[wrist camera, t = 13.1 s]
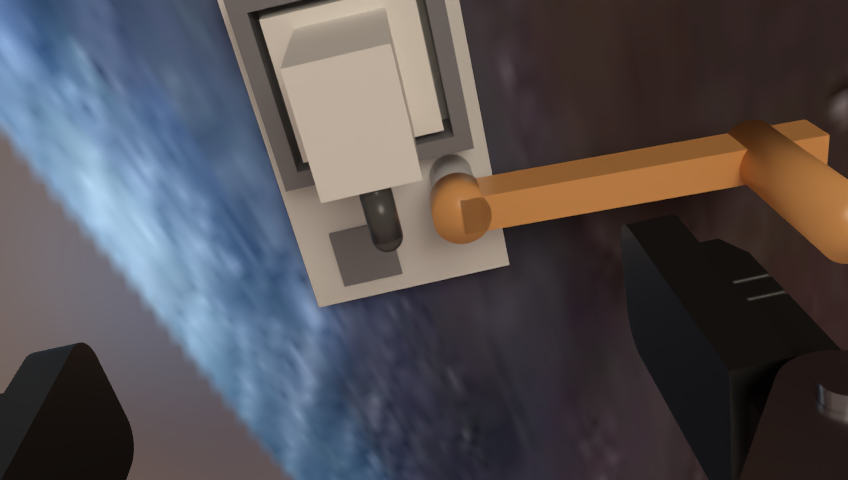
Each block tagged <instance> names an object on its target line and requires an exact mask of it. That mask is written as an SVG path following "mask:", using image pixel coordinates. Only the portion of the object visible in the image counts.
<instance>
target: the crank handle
mask: <svg viewBox="0 0 848 480" xmlns="http://www.w3.org/2000/svg"><path fill="white" fill-rule="evenodd" d="M829 136H830V135H829V134H828V133H826V132H824V131H823V130H821V129H820V128H818V127H816V126H815V125H813V124H812V123H810V122H809V121H807V120H800V121H794V122H789V123H783V124H777V125H772V126H771V125H769V124H768V123H766V122H764V121H761V120H748V121H744V122H742V123H740V124H738V125H736V126H735V127H734V128H732V129H731V130H730V131H729V132H728V133H727V134H721V135H716V136H710V137H704V138H699V139H693V140H688V141H682V142H676V143H671V144H665V145H659V146H654V147H648V148H643V149H637V150H631V151H626V152H620V153H615V154H609V155H603V156H598V157H592V158H586V159H581V160H575V161H570V162H564V163H558V164H553V165H547V166H542V167H536V168H530V169H525V170H519V171H513V172H508V173H502V174H497V175H491V176H485V177H480V178H475V177H473V176H472V175H469V174H466V173H461V172H457V173H451V174H448V175H445V176H443V177H442V178H440V179H439V180H438V181H437V182H436V183H435V184H434V186H433V188H432V190H431V192H430V197H429V201H430V208H431V213H432V218H433V223H434V227H435V229H436V231H437V233H438V234H439V235H440V236H441V237H442V238H443V239H445V240H446V241H448V242H451V243H455V244H467V243H471V242H473V241H476V240H477V239H479V238H480V237H482V236H483V235H484V234H485V233H486V231H489V230H494V229H500V228H505V227H511V226H517V225H522V224H528V223H534V222H539V221H545V220H551V219H556V218H562V217H567V216H573V215H579V214H584V213H590V212H596V211H601V210H607V209H612V208H618V207H624V206H629V205H635V204H641V203H646V202H652V201H658V200H663V199H669V198H674V197H680V196H686V195H691V194H697V193H703V192H708V191H714V190H720V189H725V188H731V187H736V186H742V185H747V186H749V187H750V188H751V189H752V190H753V191H754V192H755V193H756V194H758V195H759V196H760V197H761V198H762V199H763V200H764V201H765V202H766V203H768V204H769V205H770V206H771V207H772V208H773V209H774V210H775V211H776V212H778V213H779V214H780V215H781V216H782V217H783V218H784V219H785V220H786V221H788V222H789V223H790V224H791V225H792V226H793V227H794V228H795V229H796V230H798V231H799V232H800V233H801V234H802V235H803V236H804V237H805V238H806V239H808V240H809V241H810V242H811V243H812V244H813V245H814V246H815V247H816V248H818V249H819V250H820V251H821V252H822V253H823V254H824V255H825V256H827V257H828V258H829V259H830V260H832V261H834V262H837V263H843V264H848V179H846V178H845V177H843V176H842V175H840V174H839V173H838V172H836V171H835V170H833V169H832V168H830V167H829V166H828V165H827V160H828V148H829Z"/></svg>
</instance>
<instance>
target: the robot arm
mask: <svg viewBox="0 0 848 480" xmlns="http://www.w3.org/2000/svg"><path fill="white" fill-rule="evenodd" d="M621 248H622V259H623V269H624V279H625V289H626V300H627V310H628V318H629V323H630V328H631V332H632V336H633V339H634V342H635V345H636V348H637V350H638V352H639V354H640V356H641V358H642V360H643V362H644V364H645V366H646V367H647V369H648V371H649V373H650V375H651V376H652V378H653V380H654V382H655V384H656V385H657V387H658V389H659V391H660V393H661V394H662V396H663V398H664V400H665V402H666V404H667V405H668V407H669V409H670V411H671V413H672V414H673V416H674V418H675V420H676V422H677V423H678V425H679V427H680V429H681V431H682V432H683V434H684V436H685V438H686V440H687V442H688V443H689V445H690V447H691V449H692V451H693V452H694V454H695V456H696V458H697V460H698V461H699V463H700V465H701V467H702V469H703V470H704V472H705V474H706V476H707V478H708V480H848V351H846V350H841V349H840V348H839V347H838V346H837V345H836V344H835V343H834V342H833V341H832V340H831V339H830V337H829V336H828V335H827V334H826V333H825V332H824V331H823V330H822V329H821V328H820V327H819V326H818V325H817V324H816V323H815V322H814V321H813V320H812V319H811V317H810V316H809V315H808V314H807V313H806V312H805V311H804V310H803V309H802V308H801V307H800V306H799V305H798V304H797V303H796V302H795V301H794V300H793V299H792V297H791V296H790V295H789V294H785V293H784V289H783V288H782V287H781V286H780V285H779V284H778V283H777V282H776V281H775V280H774V278H773V277H769V275H768V272H767V271H766V270H765V269H764V268H763V267H762V266H761V265H760V264H759V263H758V262H757V261H756V260H755V258H754V257H753V256H752V255H751V254H750V253H749V252H746V251H744V250H742V249H740V248H738V247H736V246H733V245H731V244H729V243H727V242H725V241H722V240H720V239H714V240H710V241H705V242H700V243H699V242H698V240H697V239H696V238H695V237H694V236H693V234H692V233H691V232H690V231H689V230H688V229H687V227H686V226H685V225H684V224H683V223H682V222H681V220H680V219H679V218H678V217H677V216H676V215H674V214H670V215H666V216H661V217H657V218H652V219H648V220H643V221H638V222H634V223H629V224H625V225H623V226H622V228H621ZM133 453H134V443H133V435H132V430H131V427H130V423H129V421H128V419H127V417H126V415H125V413H124V411H123V409H122V407H121V405H120V403H119V401H118V399H117V397H116V394H115V392H114V390H113V389H112V386H111V385H110V382H109V380H108V378H107V376H106V374H105V372H104V371H103V368H102V366H101V364H100V363H99V360H98V358H97V356H96V354H95V353H94V351H93V350H92V348H90V346H88V345H87V344H85V343H76V344H72V345H67V346H63V347H58V348H53V349H48V350H45V351H39V352H35V353H32V354H30V355H28V356H27V357H26V359H25V360H24V362H23V363H22V365H21V366H20V368H19V370H18V371H17V373H16V374H15V376H14V378H13V379H12V381H11V382H10V384H9V386H8V387H7V389H6V390H5V392H4V393H2V394H0V480H126V479H127V476H128V473H129V470H130V467H131V464H132V461H133Z"/></svg>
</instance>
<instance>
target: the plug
mask: <svg viewBox="0 0 848 480" xmlns="http://www.w3.org/2000/svg"><path fill="white" fill-rule="evenodd" d="M259 21H260V25H261V28H262V31H263V34H264V37H265V41H266V44H267V47H268V50H269V54H270V57H271V60H272V63H273V66H274V70H275V73H276V76H277V79H278V83H279V86H280V89H281V92H282V95H283V99H284V102H285V105H286V108H287V112H288V115H289V118H290V121H291V124H292V128H293V131H294V134H295V137H296V141H297V144H298V147H299V150H300V153H301V157H302V160H303V163H305V162H309V165H310V169H311V172H312V175H313V178H314V182H315V185H316V188H317V191H318V195H319V198H320V201H321V203H325V202H329V201H333V200H338V199H342V198H346V197H351V196H355V195H359V198H360V201H361V205H362V208H363V212H364V216H365V219H366V223H367V226H368V230H369V233H370V237H371V241H372V243H373V245H374V246H375V247H376V248H377V249H378V250H380V251H382V252H392V251H395V250H396V249H398V248H399V247H400V245H401V243H402V241H403V231H402V228H401V224H400V220H399V216H398V212H397V208H396V204H395V200H394V197H393V193H392V189H391V187H394V186H399V185H403V184H408V183H412V182H416V181H421V180H423V178H422V172H421V167H420V161H419V156H418V151H417V145H416V140H415V137H417V136H422V135H426V134H430V133H435V132H439V131H443V130H444V129H443V124H442V119H441V115H440V110H439V105H438V101H437V96H436V91H435V87H434V82H433V77H432V73H431V68H430V64H429V59H428V54H427V50H426V45H425V40H424V36H423V31H422V26H421V22H420V17H419V12H418V8H417V3H416V0H299V1H295V2H291V3H286V4H282V5H278V6H274V7H270V8H265V10H264V12H263V14H262V16H261V18H260V19H259Z"/></svg>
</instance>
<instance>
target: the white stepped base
mask: <svg viewBox="0 0 848 480" xmlns="http://www.w3.org/2000/svg"><path fill="white" fill-rule="evenodd" d="M217 1H218V4H219V7H220V10H221V13H222V16H223V19H224V22H225V25H226V28H227V31H228V34H229V37H230V40H231V43H232V46H233V49H234V52H235V55H236V58H237V61H238V64H239V67H240V70H241V73H242V76H243V79H244V82H245V85H246V88H247V91H248V94H249V97H250V100H251V103H252V106H253V109H254V112H255V115H256V119H257V122H258V125H259V128H260V131H261V134H262V137H263V140H264V143H265V146H266V149H267V152H268V155H269V158H270V161H271V164H272V167H273V170H274V173H275V176H276V179H277V182H278V185H279V188H280V191H281V194H282V197H283V200H284V203H285V206H286V209H287V212H288V215H289V218H290V221H291V224H292V227H293V230H294V233H295V236H296V239H297V242H298V245H299V248H300V251H301V254H302V257H303V260H304V263H305V266H306V269H307V272H308V275H309V279H310V282H311V285H312V288H313V291H314V294H315V297H316V300H317V303H318V306H319V307H324V306H328V305H333V304H337V303H342V302H346V301H350V300H355V299H359V298H364V297H368V296H373V295H377V294H382V293H386V292H391V291H395V290H399V289H404V288H408V287H413V286H417V285H422V284H426V283H431V282H435V281H440V280H444V279H448V278H453V277H457V276H462V275H466V274H471V273H475V272H480V271H484V270H489V269H493V268H497V267H502V266H506V265H509V260H508V255H507V250H506V245H505V239H504V234H503V229H502V228H500V229H494V230H489V231H486V233H485V234H484V235H483V236H482V237H480V238H479V239H477V240H476V241H473V242H471V243H467V244H455V243H451V242H448V241H446V240H445V239H443V238H442V237H441V236H440V235H439V234H438V233H437V231H436V229H435V227H434V223H433V218H432V213H431V208H430V201H429V197H430V192H431V190H432V188H433V186H434V184H435V183H436V182H437V181H438V180H439V179H440V178H442V177H443V176H445V175H448V174H451V173H457V172H461V173H466V174H469V175H472V176H473V177H475V178H480V177H485V176H491V175H492V171H491V166H490V161H489V155H488V150H487V145H486V139H485V134H484V129H483V124H482V118H481V113H480V108H479V103H478V97H477V92H476V87H475V82H474V76H473V71H472V66H471V61H470V55H469V50H468V45H467V40H466V34H465V29H464V24H463V18H462V13H461V8H460V3H459V0H416V3H417V8H418V12H419V17H420V22H421V26H422V31H423V36H424V40H425V45H426V50H427V54H428V59H429V64H430V68H431V73H432V77H433V82H434V87H435V91H436V96H437V101H438V105H439V110H440V115H441V119H442V124H443V129H444V130H443V131H439V132H435V133H430V134H426V135H422V136H417V137H415V140H416V145H417V151H418V156H419V161H420V167H421V172H422V178H423V180H421V181H416V182H412V183H408V184H403V185H399V186H394V187H391V189H392V193H393V197H394V200H395V204H396V208H397V212H398V216H399V220H400V224H401V228H402V231H403V241H402V243H401V245H400V247H399V248H398V249H396V250H395V251H392V252H382V251H380V250H378V249H377V248H376V247H375V246H374V245H373V243H372V241H371V237H370V233H369V230H368V226H367V223H366V219H365V216H364V212H363V208H362V205H361V201H360V198H359V195H355V196H351V197H346V198H342V199H338V200H333V201H329V202H325V203H321V201H320V198H319V195H318V191H317V188H316V185H315V182H314V178H313V175H312V172H311V169H310V165H309V162H305V163H303V160H302V157H301V153H300V150H299V147H298V144H297V141H296V137H295V134H294V131H293V128H292V124H291V121H290V118H289V115H288V112H287V108H286V105H285V102H284V99H283V95H282V92H281V89H280V86H279V83H278V79H277V76H276V73H275V70H274V66H273V63H272V60H271V57H270V54H269V50H268V47H267V44H266V41H265V37H264V34H263V31H262V28H261V25H260V21H259V19H260V18H261V16H262V14H263V12H264V10H265V8H270V7H274V6H278V5H282V4H286V3H291V2H295V1H299V0H217Z"/></svg>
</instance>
